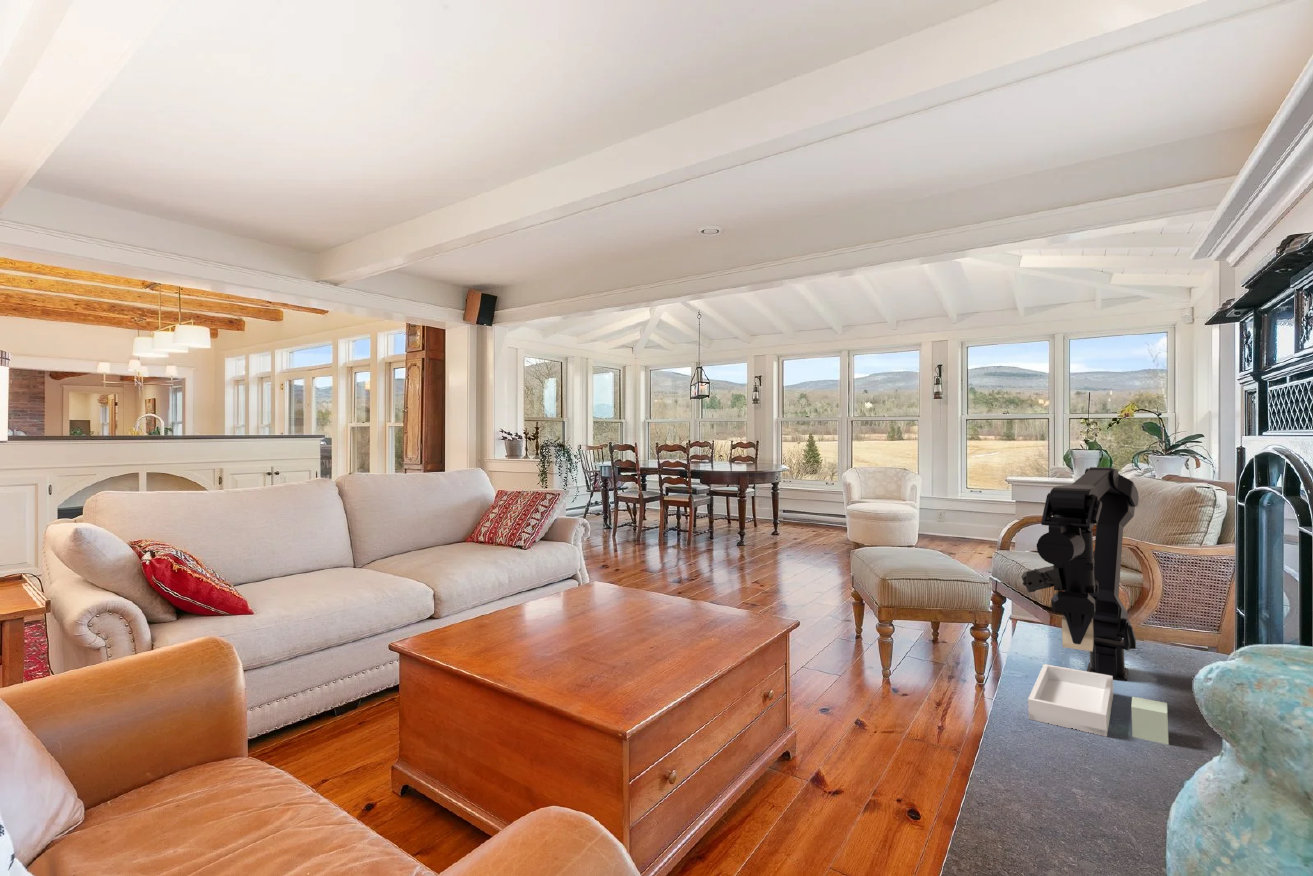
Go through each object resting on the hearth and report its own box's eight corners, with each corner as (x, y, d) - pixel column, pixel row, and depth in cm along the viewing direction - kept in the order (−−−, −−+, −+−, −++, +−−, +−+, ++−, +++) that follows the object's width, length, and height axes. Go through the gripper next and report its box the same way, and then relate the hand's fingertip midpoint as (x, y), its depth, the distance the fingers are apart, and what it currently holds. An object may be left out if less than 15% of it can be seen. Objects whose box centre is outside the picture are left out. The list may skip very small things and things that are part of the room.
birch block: (1064, 639, 117) (1063, 613, 117) (1093, 644, 114) (1092, 617, 114) (1062, 647, 113) (1061, 620, 113) (1092, 651, 110) (1091, 623, 110)
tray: (1044, 681, 122) (1043, 664, 122) (1113, 694, 115) (1112, 676, 115) (1028, 719, 107) (1028, 699, 107) (1106, 736, 100) (1106, 715, 100)
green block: (1133, 726, 103) (1132, 696, 103) (1168, 733, 101) (1167, 703, 100) (1132, 737, 100) (1131, 706, 100) (1168, 745, 97) (1167, 713, 97)
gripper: (1030, 543, 126) (1033, 619, 126) (1016, 561, 111) (1020, 647, 111) (1097, 548, 119) (1100, 628, 119) (1092, 567, 104) (1096, 659, 104)
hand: (1077, 639), depth 113 cm, fingers closed on birch block, 4 cm apart
